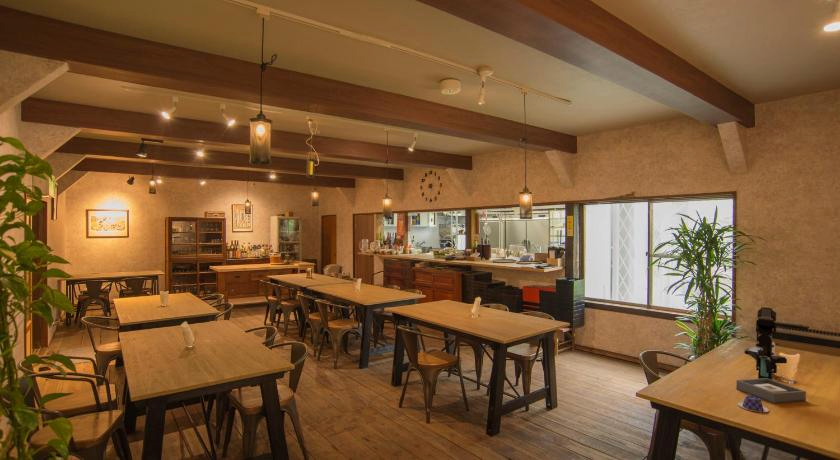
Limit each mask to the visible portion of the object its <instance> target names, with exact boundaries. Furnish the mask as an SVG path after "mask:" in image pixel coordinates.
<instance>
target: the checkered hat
mask: <svg viewBox="0 0 840 460" xmlns="http://www.w3.org/2000/svg"><path fill="white" fill-rule="evenodd" d="M737 405H738V406H739V407H741V409H744V410H748V411H752V412H753V411H754V410H755V411H754V412H755V413H756V412H757V411H758V412H762V411H763V412H762V413H768V412H769V411H770V410H769V408H767V407H766V406H764V405H763V402H762V399H760V398H758V397H755V396H752V395H746V396H745V397H744V400H743V401H740V402H737ZM742 406H743V407H742ZM749 409H750V410H749ZM764 409H765V411H764ZM758 412H757V413H758Z"/></svg>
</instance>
